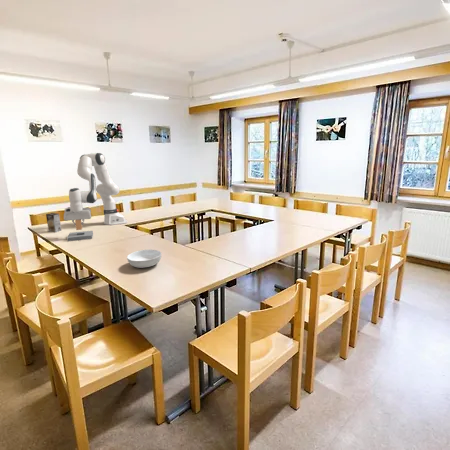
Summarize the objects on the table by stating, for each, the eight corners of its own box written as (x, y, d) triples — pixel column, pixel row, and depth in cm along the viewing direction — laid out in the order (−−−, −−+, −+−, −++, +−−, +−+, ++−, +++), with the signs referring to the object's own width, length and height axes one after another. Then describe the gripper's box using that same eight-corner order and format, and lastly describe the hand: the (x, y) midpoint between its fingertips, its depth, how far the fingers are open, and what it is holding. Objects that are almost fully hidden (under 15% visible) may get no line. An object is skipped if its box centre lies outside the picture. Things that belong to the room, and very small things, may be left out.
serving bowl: (135, 258, 199) (134, 248, 198) (166, 259, 197) (165, 249, 196) (122, 271, 179) (121, 260, 178) (156, 272, 177) (155, 261, 176)
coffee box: (48, 231, 269) (45, 214, 265) (54, 229, 275) (51, 212, 271) (55, 232, 266) (53, 214, 262) (61, 230, 272) (59, 213, 268)
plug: (82, 228, 250) (81, 218, 248) (81, 229, 245) (80, 220, 244) (76, 228, 249) (75, 219, 247) (76, 230, 244) (75, 220, 242)
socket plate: (93, 233, 259) (92, 230, 259) (92, 238, 245) (91, 235, 244) (70, 236, 253) (69, 232, 253) (67, 241, 239) (67, 237, 238)
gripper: (90, 206, 249) (92, 223, 253) (63, 208, 243) (65, 225, 246) (90, 208, 244) (92, 224, 247) (62, 210, 237) (64, 226, 240)
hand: (78, 224), depth 246 cm, fingers closed on plug, 4 cm apart
